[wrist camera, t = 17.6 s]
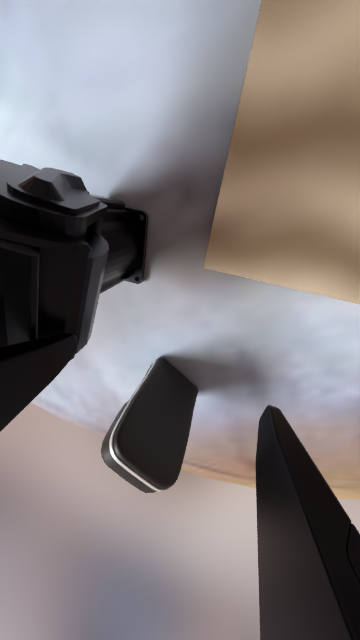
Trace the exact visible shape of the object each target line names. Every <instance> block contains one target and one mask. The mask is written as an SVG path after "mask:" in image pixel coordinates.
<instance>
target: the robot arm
mask: <svg viewBox="0 0 360 640" xmlns="http://www.w3.org/2000/svg"><path fill="white" fill-rule="evenodd" d="M141 214H142V215H143V217H144V219H143V220H141V219H140V215H141ZM147 226H148V215H147V213H146V212H144V211H140V210H135V209H130V208H125V203H124V202H123V201H120V200H115V199H109V198H104V197H99V196H93V195H90V194H89V192H88V191H87V190H86V188H85V186H84V183H83V181H82V179H81V178H80V177H78V176H76V175H74V174H72V173H69V172H65V171H62V170H58V169H53V168H43V169H41V170H40V169H38V168H35V167H33V166H31V165H28V164H23V165H22V166H21V165H17V164H14V163H11V162H7V161H4V160H0V431H1V430H2V429H4V428H5V427H6V426H7V425H8V423H10V422H11V421H12V420H13V419H14V418H15V417H16V416H17V415H18V414H19V413H20V412H21V411H22V410H23V409H24V408H25V407H26V406H27V405H28V404H29V403H30V402H31V401H32V400H33V399H34V398H35V397H36V396H37V395H38V394H39V393H40V392H41V391H42V390H43V389H44V388H45V387H46V386H48V385H49V384H50V383H51V382H52V381H53V379H54V378H55V377H56V376H57V375H58V374H59V373H60V372H61V370H62V369H63V368H64V367H65V366H66V365H67V363H68V362H69V361H70V360H71V359H73V358H74V356H75V354H76V353H77V352H79V351H80V350H81V349H82V348H83V347H84V346H85V345H86V344H87V342H88V340H89V338H90V336H91V332H92V327H93V323H94V318H95V313H96V309H97V304H98V299H99V295H100V293H102V292H104V291H106V290H108V289H109V288H111V287H113V286H115V285H117V284H119V283H120V282H122V281H124V280H125V281H129V282H132V283H136V284H139V283H141V282H142V281H143V279H144V267H145V253H146V240H147ZM137 276H138V277H139V278H140V280H138V279H137ZM256 496H257V531H258V532H257V533H258V568H259V606H260V640H360V534H359V532H358V530H357V529H356V527H355V526H354V525H353V524H351V520H350V518H349V517H348V515H347V514H346V512H345V510H344V509H343V507H342V506H341V504H340V503H339V501H338V499H337V498H336V496H335V495H334V493H333V492H332V490H331V488H330V487H329V485H328V484H327V482H326V481H325V479H324V478H323V476H322V474H321V473H320V471H319V470H318V468H317V467H316V465H315V463H314V462H313V460H312V459H311V457H310V456H309V454H308V452H307V451H306V449H305V448H304V446H303V445H302V443H301V442H300V440H299V438H298V437H297V435H296V434H295V432H294V431H293V429H292V427H291V426H290V424H289V423H288V421H287V420H286V418H285V417H284V415H283V413H282V412H281V410H280V409H279V408H276V407H274V406H271V405H268V406H267V407H266V409H265V410H264V412H263V414H262V416H261V417H260V420H259V428H258V440H257V452H256Z"/></svg>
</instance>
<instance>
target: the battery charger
mask: <svg viewBox="0 0 360 640" xmlns="http://www.w3.org/2000/svg"><path fill="white" fill-rule="evenodd" d="M197 394H198V389H197V388H196V387H195V386H194V385H193V384H192V383H191V382H190V381H189V380H188V379H187V378H186V377H184V376H183V375H182V374H181V373H180V372H179V371H178V370H176V369H175V368H174V367H173V366H172V365H170V364H169V363H168V362H167V361H165V360H164V359H163V358H161V357H160V358H158V359H156V360H155V361H154V363H152V365H151V366H150V368H149V370H148V371H147V374H146V376H145V377H144V379H143V381H142V382H141V384H140V385H139V386H138V388H137V389H136V391H135V392H134V394H133V395H132V397H131V398H130V400H129V401H128V402H126V403H125V404H124V405H123V407H122V408H121V410H120V412H119V413H118V415H117V417H116V418H115V420H114V422H113V423H112V425H111V427H110V429H109V430H108V432H107V434H106V436H105V438H104V440H103V443H102V448H101V453H102V458H103V460H104V462H105V463H106V465H107V466H108V467H109V468H111V469H112V470H113V471H114V472H116V473H117V474H118V475H119V476H121V477H122V478H123V479H125V480H126V481H128V482H129V483H130V484H132V485H133V486H135V487H136V488H138V489H139V490H141V491H143V492H145V493H153V492H157V491H160V492H161V491H165V490H168V489H169V488H170V487H171V486H172V485H174V483H175V482H176V480H177V479H178V476H179V473H180V470H181V466H182V463H183V459H184V455H185V451H186V446H187V442H188V437H189V432H190V427H191V421H192V416H193V410H194V406H195V402H196V397H197Z"/></svg>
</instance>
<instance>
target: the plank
mask: <svg viewBox="0 0 360 640" xmlns="http://www.w3.org/2000/svg"><path fill="white" fill-rule="evenodd" d="M203 268H206V269H210V270H214V271H219V272H223V273H227V274H232V275H236V276H240V277H245V278H249V279H253V280H258V281H262V282H266V283H270V284H275V285H279V286H283V287H288V288H292V289H296V290H301V291H305V292H309V293H314V294H318V295H322V296H326V297H331V298H335V299H339V300H344V301H348V302H352V303H357V304H360V0H262V2H261V7H260V11H259V16H258V20H257V25H256V29H255V34H254V38H253V43H252V47H251V52H250V57H249V61H248V66H247V70H246V75H245V79H244V84H243V88H242V93H241V97H240V102H239V106H238V111H237V115H236V120H235V124H234V129H233V134H232V138H231V143H230V147H229V152H228V156H227V161H226V165H225V170H224V174H223V179H222V183H221V188H220V192H219V197H218V201H217V206H216V211H215V215H214V220H213V224H212V229H211V233H210V238H209V242H208V247H207V251H206V256H205V260H204V265H203Z"/></svg>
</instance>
